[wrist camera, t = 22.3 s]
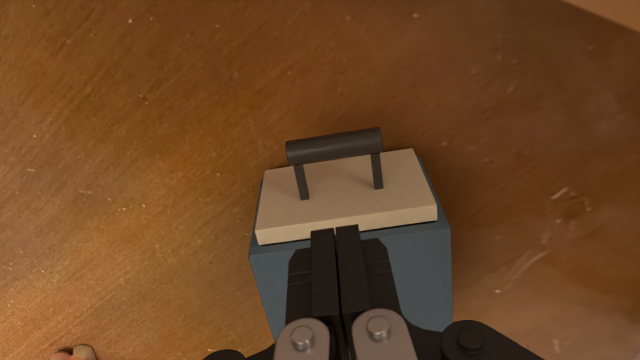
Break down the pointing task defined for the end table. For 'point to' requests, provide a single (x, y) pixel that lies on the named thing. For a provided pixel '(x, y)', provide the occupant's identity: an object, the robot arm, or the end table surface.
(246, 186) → the end table surface
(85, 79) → the end table surface
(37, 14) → the end table surface
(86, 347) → the grandmother figurine
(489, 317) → the end table surface
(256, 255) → the cabinet
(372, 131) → the drawer
